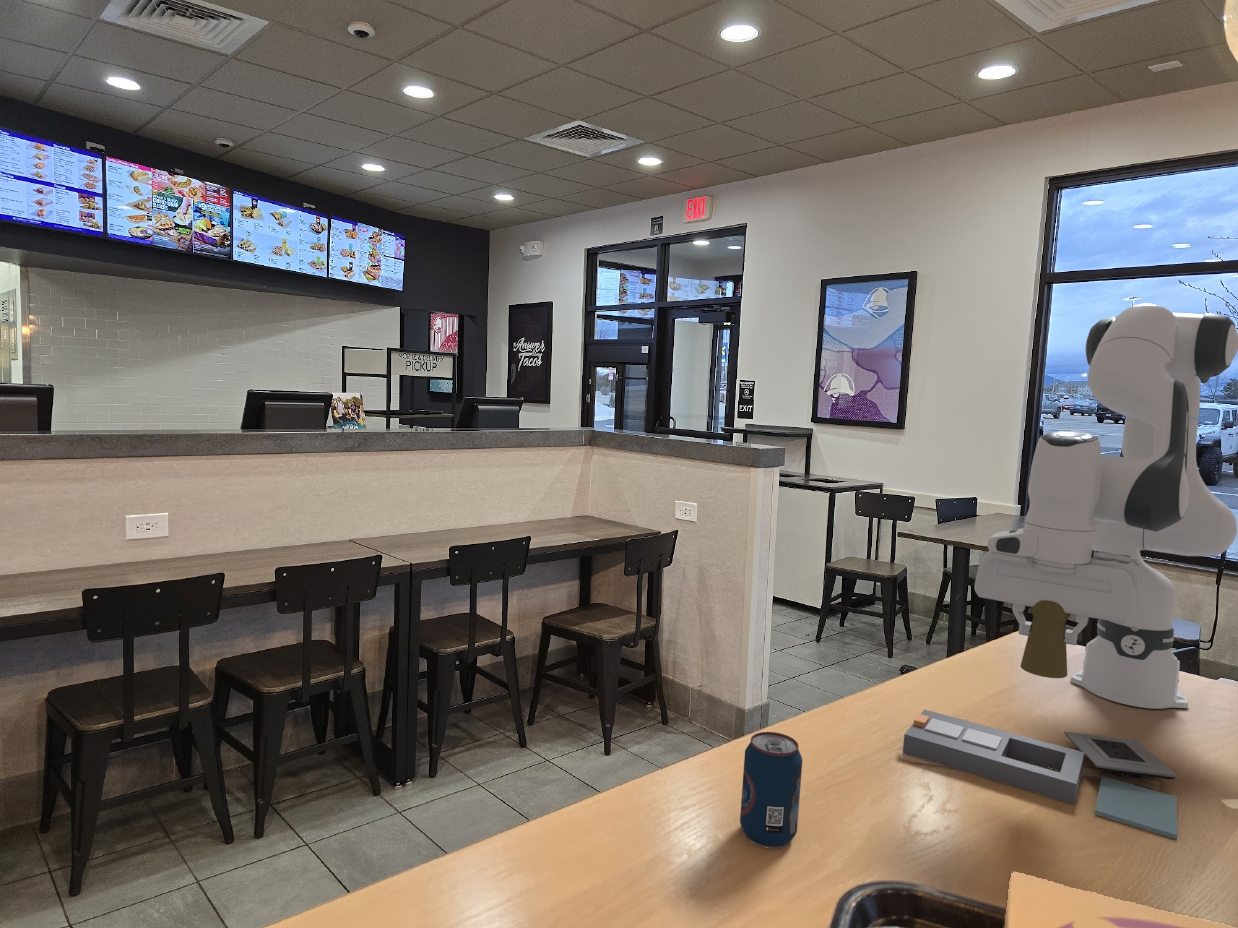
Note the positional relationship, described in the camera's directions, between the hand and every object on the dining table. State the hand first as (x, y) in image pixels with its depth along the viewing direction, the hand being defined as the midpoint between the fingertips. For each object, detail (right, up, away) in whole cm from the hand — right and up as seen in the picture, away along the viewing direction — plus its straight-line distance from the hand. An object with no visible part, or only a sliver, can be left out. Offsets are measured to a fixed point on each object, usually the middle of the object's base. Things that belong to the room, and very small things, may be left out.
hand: (1047, 638), depth 114 cm
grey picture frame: (+13, -21, +5) cm, 25 cm away
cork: (0, -5, 0) cm, 5 cm away
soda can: (-44, -21, -17) cm, 51 cm away
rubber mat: (+9, -22, -6) cm, 24 cm away
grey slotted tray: (-6, -20, +5) cm, 21 cm away
